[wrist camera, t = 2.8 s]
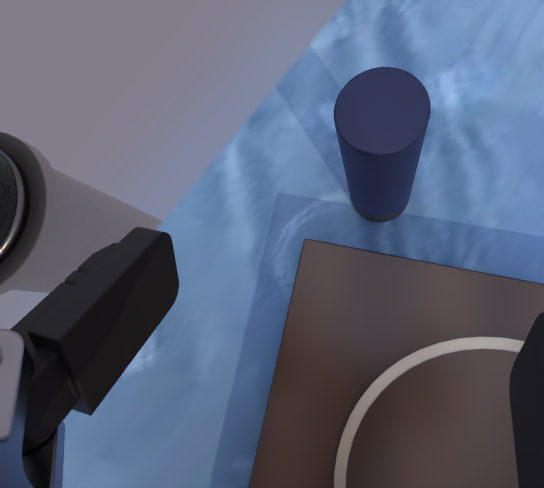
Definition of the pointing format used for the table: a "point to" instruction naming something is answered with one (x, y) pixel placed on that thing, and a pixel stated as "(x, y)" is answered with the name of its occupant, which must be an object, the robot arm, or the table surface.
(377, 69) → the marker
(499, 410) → the brown wooden board
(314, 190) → the table surface
